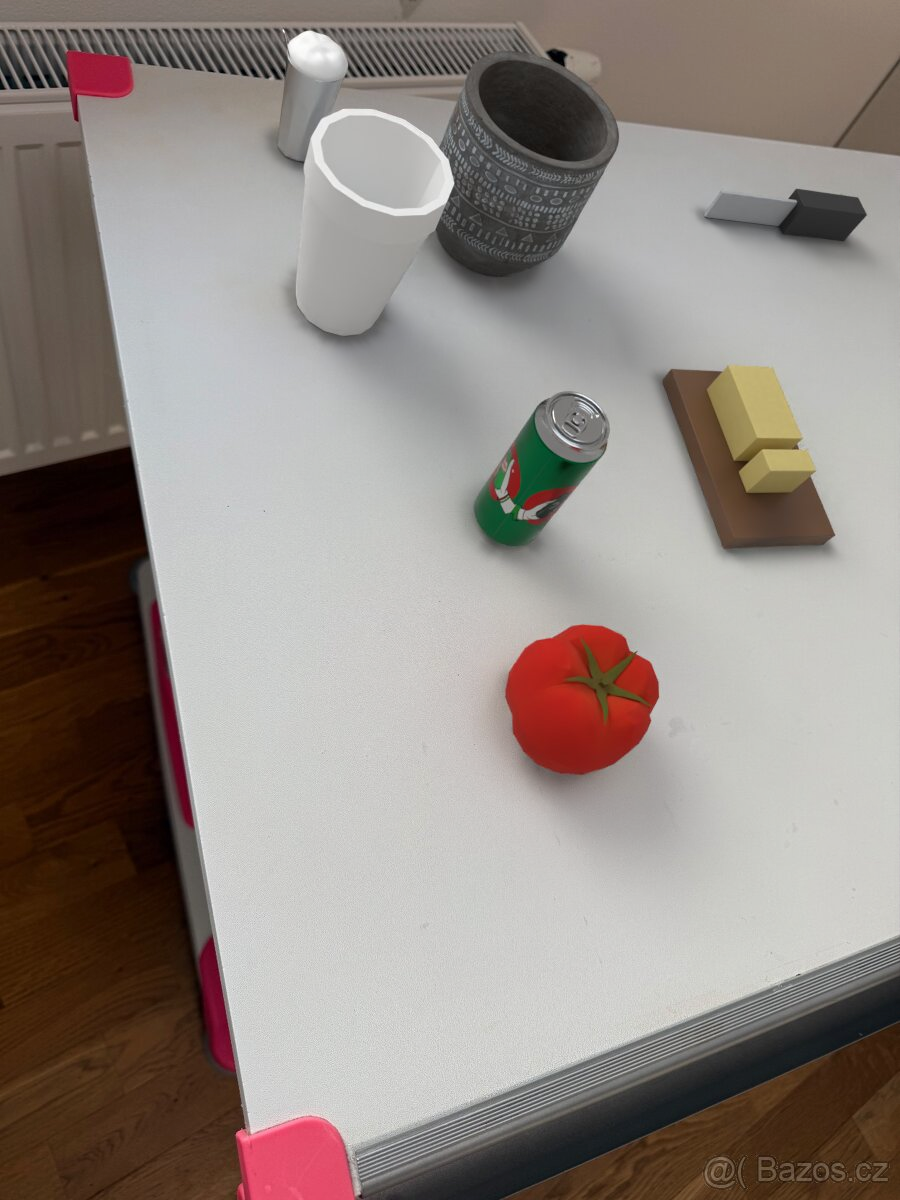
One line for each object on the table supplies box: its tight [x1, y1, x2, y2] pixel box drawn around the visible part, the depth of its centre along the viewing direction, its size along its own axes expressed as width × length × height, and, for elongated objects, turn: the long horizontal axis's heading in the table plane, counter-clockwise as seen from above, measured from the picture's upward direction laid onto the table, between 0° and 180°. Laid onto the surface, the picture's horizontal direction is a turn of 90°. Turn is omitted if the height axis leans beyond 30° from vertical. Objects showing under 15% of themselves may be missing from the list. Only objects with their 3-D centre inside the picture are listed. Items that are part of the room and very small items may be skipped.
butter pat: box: [739, 449, 817, 493], centre depth 76 cm, size 4×2×3 cm, turn 103°
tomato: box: [504, 623, 660, 776], centre depth 60 cm, size 9×9×8 cm
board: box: [661, 368, 836, 549], centre depth 79 cm, size 10×16×2 cm, turn 13°
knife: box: [703, 188, 868, 242], centre depth 95 cm, size 17×2×4 cm, turn 103°
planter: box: [435, 50, 620, 278], centre depth 76 cm, size 12×12×13 cm
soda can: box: [473, 390, 611, 547], centre depth 64 cm, size 5×5×12 cm
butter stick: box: [707, 364, 804, 461], centre depth 78 cm, size 4×7×3 cm, turn 13°
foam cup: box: [295, 108, 454, 337], centre depth 67 cm, size 10×9×13 cm
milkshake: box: [277, 29, 349, 162], centre depth 74 cm, size 4×5×10 cm
